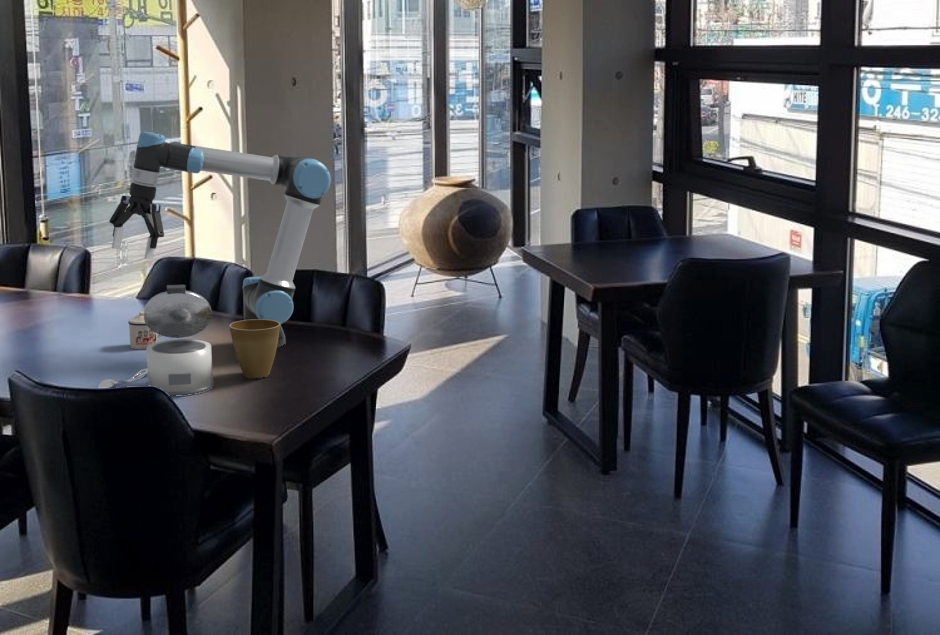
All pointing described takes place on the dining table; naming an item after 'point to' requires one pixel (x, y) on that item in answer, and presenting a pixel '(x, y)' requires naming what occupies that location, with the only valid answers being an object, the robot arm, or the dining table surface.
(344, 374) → the dining table surface
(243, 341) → the plant pot
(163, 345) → the cooker pot
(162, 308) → the lid
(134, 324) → the teacup with lid
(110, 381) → the stirrer
